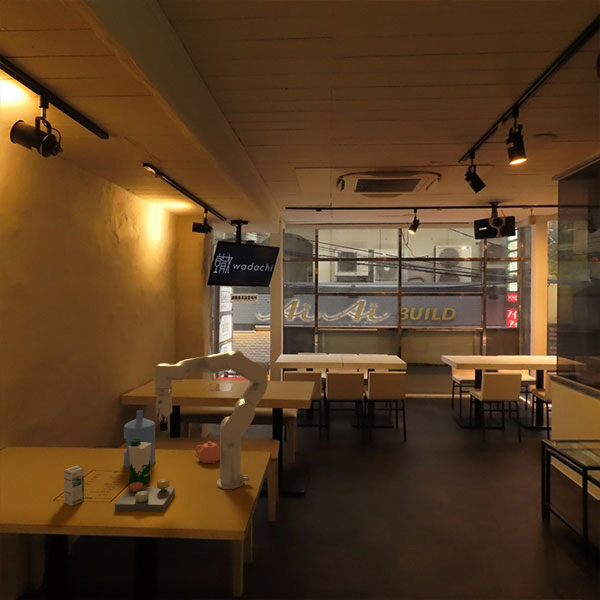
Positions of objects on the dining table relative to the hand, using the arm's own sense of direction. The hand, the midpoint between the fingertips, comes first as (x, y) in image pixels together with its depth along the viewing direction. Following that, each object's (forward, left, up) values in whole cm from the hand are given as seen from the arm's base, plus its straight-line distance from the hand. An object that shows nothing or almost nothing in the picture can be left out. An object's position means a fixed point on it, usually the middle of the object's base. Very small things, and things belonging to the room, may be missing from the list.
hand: (163, 430), depth 203 cm
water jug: (+22, -28, -27) cm, 45 cm away
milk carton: (+13, -5, -27) cm, 30 cm away
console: (+3, +14, -27) cm, 30 cm away
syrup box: (+34, +15, -27) cm, 46 cm away
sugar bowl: (-13, -33, -27) cm, 45 cm away
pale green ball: (+3, +19, -26) cm, 32 cm away
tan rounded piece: (-3, +10, -24) cm, 26 cm away
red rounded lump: (+9, +10, -26) cm, 29 cm away
